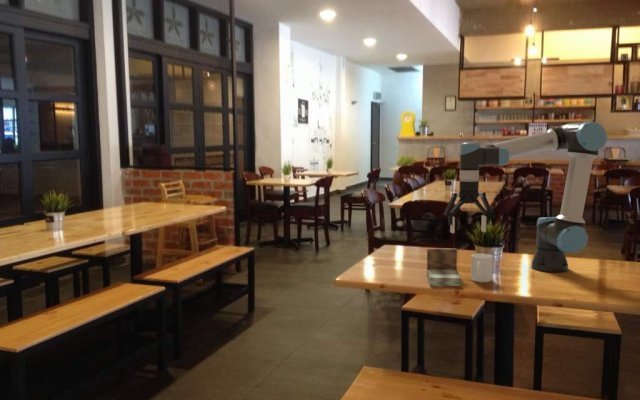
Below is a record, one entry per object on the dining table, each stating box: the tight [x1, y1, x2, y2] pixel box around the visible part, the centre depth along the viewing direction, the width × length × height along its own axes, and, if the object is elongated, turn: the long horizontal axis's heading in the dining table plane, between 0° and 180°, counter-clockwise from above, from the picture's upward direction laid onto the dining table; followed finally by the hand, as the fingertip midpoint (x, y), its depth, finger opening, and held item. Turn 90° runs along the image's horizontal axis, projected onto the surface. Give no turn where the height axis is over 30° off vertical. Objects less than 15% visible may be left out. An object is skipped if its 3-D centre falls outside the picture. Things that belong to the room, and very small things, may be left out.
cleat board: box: [426, 247, 462, 287], centre depth 231 cm, size 12×16×12 cm
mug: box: [470, 253, 493, 283], centre depth 230 cm, size 12×8×10 cm
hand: (467, 232), depth 233 cm, fingers open, 13 cm apart
